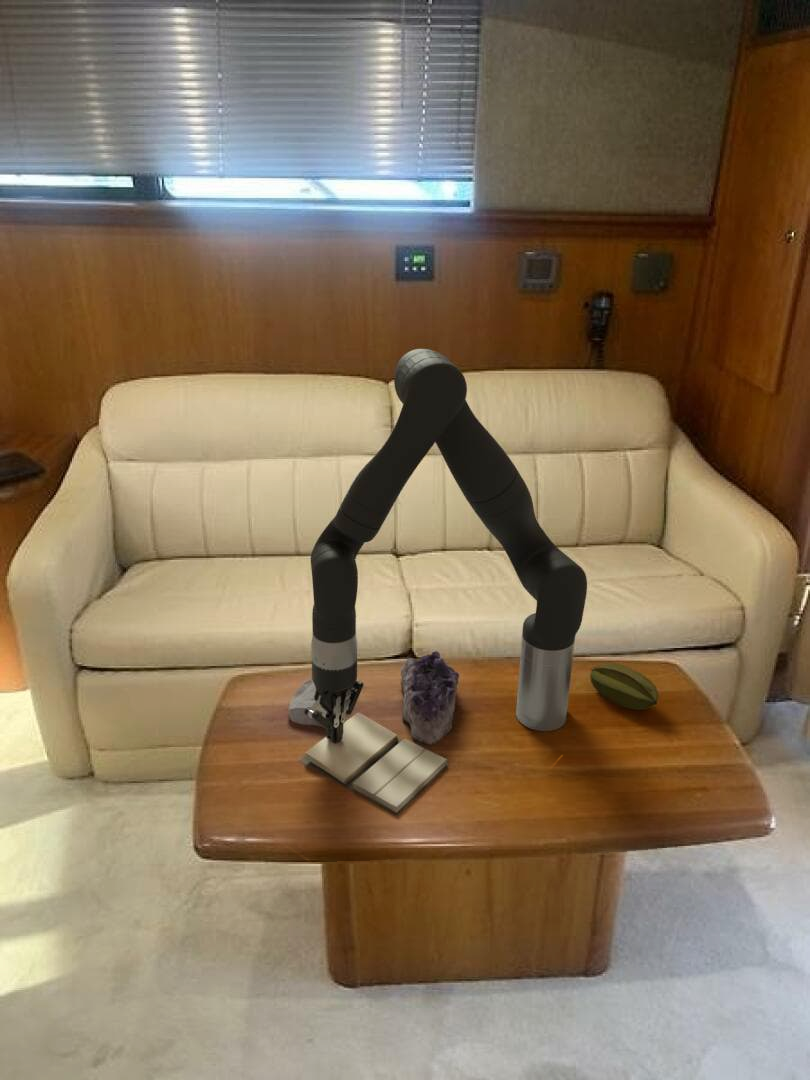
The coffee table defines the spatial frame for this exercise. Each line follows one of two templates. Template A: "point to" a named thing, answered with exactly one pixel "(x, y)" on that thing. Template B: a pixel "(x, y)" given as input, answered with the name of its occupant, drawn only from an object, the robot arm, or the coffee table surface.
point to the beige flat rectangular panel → (352, 748)
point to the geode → (428, 697)
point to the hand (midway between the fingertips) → (335, 739)
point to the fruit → (624, 686)
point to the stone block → (302, 703)
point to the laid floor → (394, 775)
